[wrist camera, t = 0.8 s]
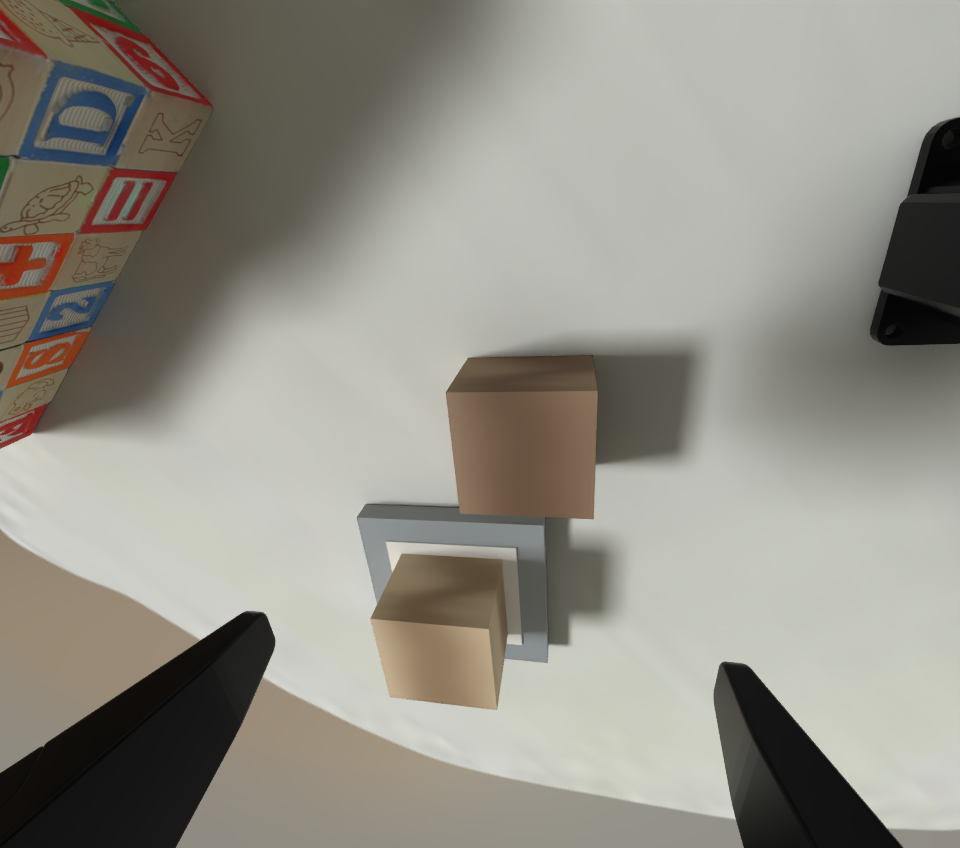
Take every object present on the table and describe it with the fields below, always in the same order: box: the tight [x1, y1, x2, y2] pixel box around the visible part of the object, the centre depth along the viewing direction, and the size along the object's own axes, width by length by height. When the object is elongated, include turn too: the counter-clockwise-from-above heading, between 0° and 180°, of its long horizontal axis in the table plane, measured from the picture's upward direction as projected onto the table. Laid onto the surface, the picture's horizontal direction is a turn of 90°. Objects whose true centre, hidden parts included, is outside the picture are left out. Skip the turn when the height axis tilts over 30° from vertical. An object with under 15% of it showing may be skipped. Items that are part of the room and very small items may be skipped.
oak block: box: [371, 554, 508, 710], centre depth 22 cm, size 5×5×4 cm
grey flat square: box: [357, 504, 548, 663], centre depth 24 cm, size 9×9×1 cm
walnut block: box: [446, 355, 598, 519], centre depth 18 cm, size 5×5×4 cm
